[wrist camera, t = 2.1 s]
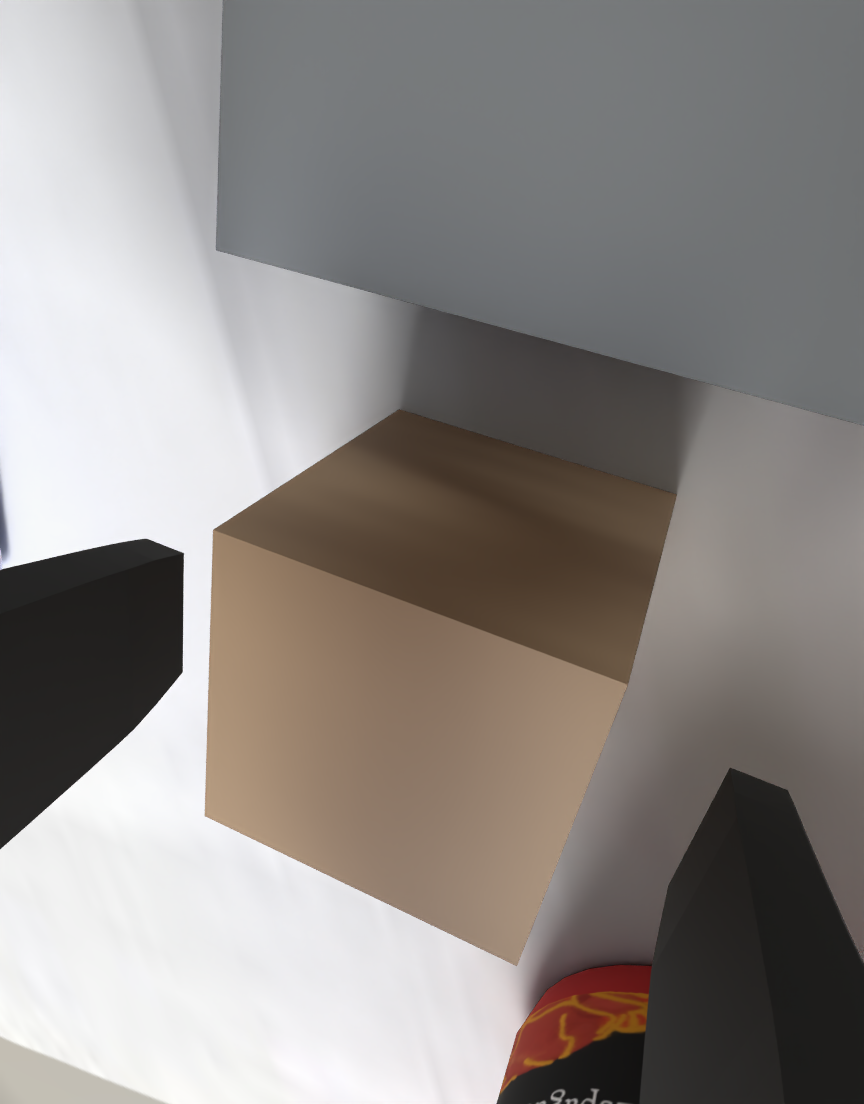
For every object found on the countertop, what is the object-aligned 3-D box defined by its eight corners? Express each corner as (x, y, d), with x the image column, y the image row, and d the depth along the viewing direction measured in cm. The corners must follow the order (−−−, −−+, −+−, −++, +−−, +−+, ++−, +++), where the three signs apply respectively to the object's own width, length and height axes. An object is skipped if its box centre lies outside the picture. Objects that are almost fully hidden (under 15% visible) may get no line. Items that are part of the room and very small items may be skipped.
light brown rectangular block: (365, 630, 14) (204, 815, 10) (400, 408, 12) (213, 530, 8) (592, 718, 13) (517, 965, 9) (677, 492, 11) (628, 684, 7)
